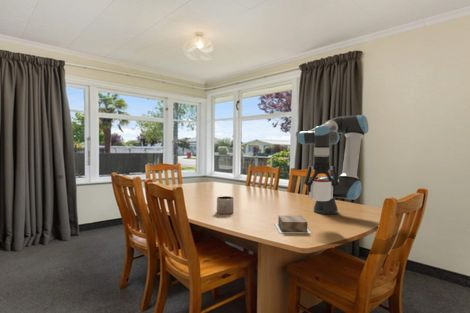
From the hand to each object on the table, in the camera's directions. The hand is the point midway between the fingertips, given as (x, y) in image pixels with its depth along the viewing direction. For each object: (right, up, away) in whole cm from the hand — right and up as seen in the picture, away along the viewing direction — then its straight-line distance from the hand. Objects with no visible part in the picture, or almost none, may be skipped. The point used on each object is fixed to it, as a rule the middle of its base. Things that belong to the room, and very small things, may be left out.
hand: (321, 198), depth 144 cm
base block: (-16, -14, -6) cm, 23 cm away
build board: (-16, -16, -6) cm, 24 cm away
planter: (-52, -14, +32) cm, 62 cm away
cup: (0, -1, 0) cm, 1 cm away
